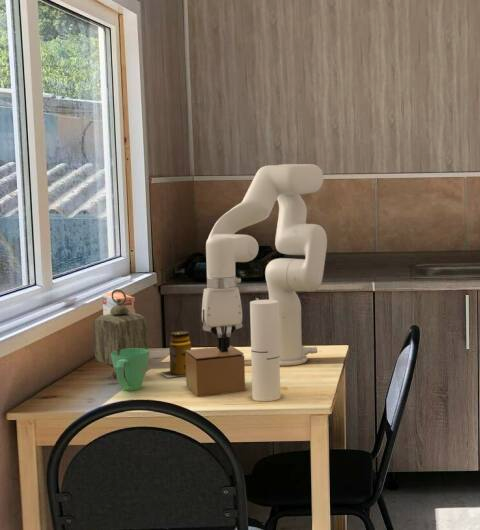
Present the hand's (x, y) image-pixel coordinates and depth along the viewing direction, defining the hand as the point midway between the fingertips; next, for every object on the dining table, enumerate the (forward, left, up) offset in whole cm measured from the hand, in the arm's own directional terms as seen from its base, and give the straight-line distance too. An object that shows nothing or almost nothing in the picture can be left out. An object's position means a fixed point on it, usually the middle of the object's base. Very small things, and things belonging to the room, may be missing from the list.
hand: (223, 350), depth 238 cm
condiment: (+7, -22, -10) cm, 25 cm away
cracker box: (+19, -45, -10) cm, 50 cm away
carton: (+2, 0, -10) cm, 10 cm away
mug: (+23, -9, -10) cm, 27 cm away
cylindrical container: (-7, +15, -10) cm, 20 cm away
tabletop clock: (+22, -27, -10) cm, 37 cm away
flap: (-1, 0, 0) cm, 1 cm away
